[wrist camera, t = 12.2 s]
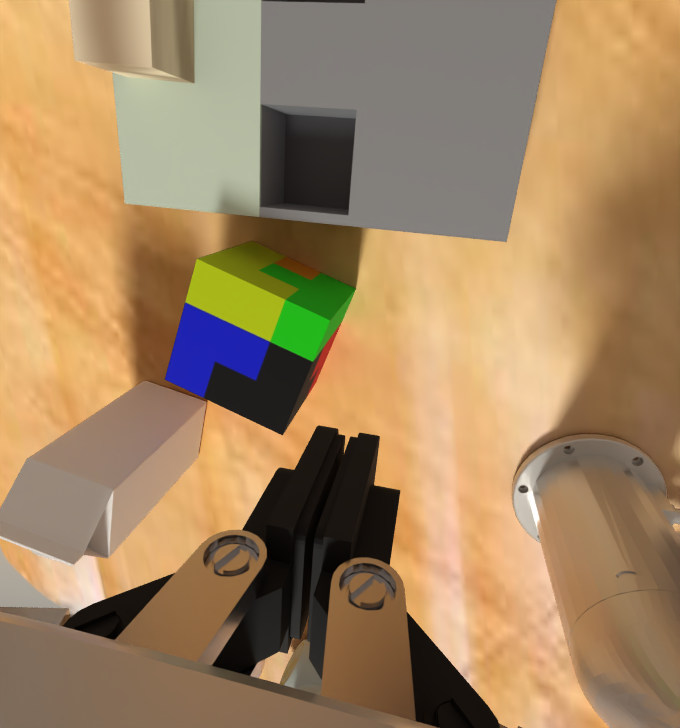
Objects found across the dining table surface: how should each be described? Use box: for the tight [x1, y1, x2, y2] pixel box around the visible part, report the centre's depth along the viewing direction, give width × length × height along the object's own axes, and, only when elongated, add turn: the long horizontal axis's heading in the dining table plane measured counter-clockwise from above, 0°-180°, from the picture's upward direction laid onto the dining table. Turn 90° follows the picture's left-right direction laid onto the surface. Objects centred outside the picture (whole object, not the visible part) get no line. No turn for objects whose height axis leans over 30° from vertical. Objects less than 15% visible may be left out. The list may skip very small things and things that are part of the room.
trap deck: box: [112, 0, 556, 242], centre depth 32 cm, size 28×20×6 cm
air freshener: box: [280, 639, 322, 695], centre depth 53 cm, size 11×8×10 cm
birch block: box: [69, 0, 195, 83], centre depth 29 cm, size 5×5×5 cm
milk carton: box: [0, 381, 207, 566], centre depth 41 cm, size 7×7×19 cm
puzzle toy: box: [165, 241, 356, 435], centre depth 38 cm, size 10×10×10 cm
